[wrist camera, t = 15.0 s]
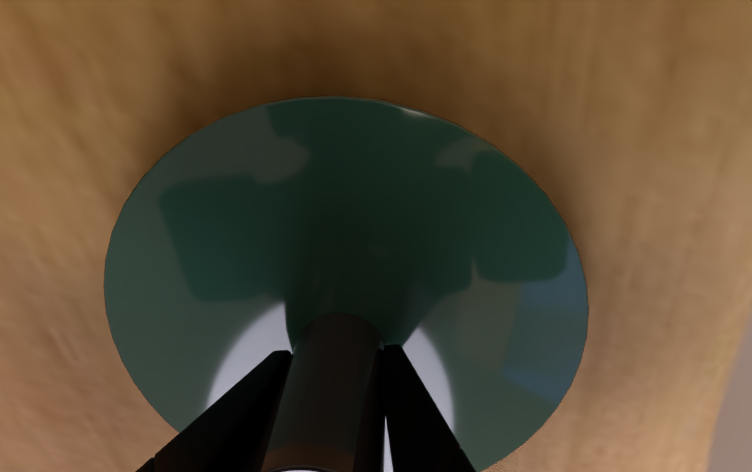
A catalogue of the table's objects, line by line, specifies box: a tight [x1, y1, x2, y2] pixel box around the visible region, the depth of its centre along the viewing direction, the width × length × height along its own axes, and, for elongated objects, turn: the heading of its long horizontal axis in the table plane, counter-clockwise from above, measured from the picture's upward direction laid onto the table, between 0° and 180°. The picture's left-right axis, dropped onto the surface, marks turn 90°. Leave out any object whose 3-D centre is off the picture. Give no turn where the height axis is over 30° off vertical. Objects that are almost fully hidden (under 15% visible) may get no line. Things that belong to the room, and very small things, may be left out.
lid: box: [104, 95, 589, 472], centre depth 8 cm, size 13×13×5 cm
